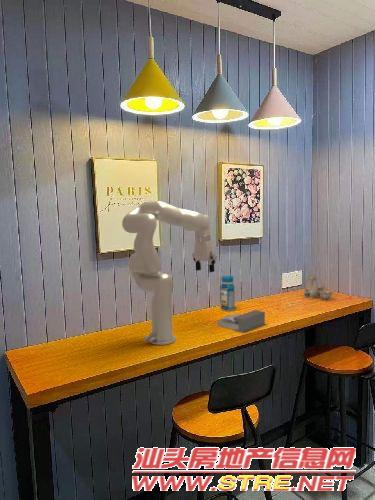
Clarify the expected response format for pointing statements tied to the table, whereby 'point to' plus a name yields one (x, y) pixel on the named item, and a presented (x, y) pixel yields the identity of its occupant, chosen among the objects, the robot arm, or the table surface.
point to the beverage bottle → (227, 294)
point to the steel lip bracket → (245, 321)
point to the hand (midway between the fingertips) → (205, 271)
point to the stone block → (230, 319)
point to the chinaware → (315, 289)
